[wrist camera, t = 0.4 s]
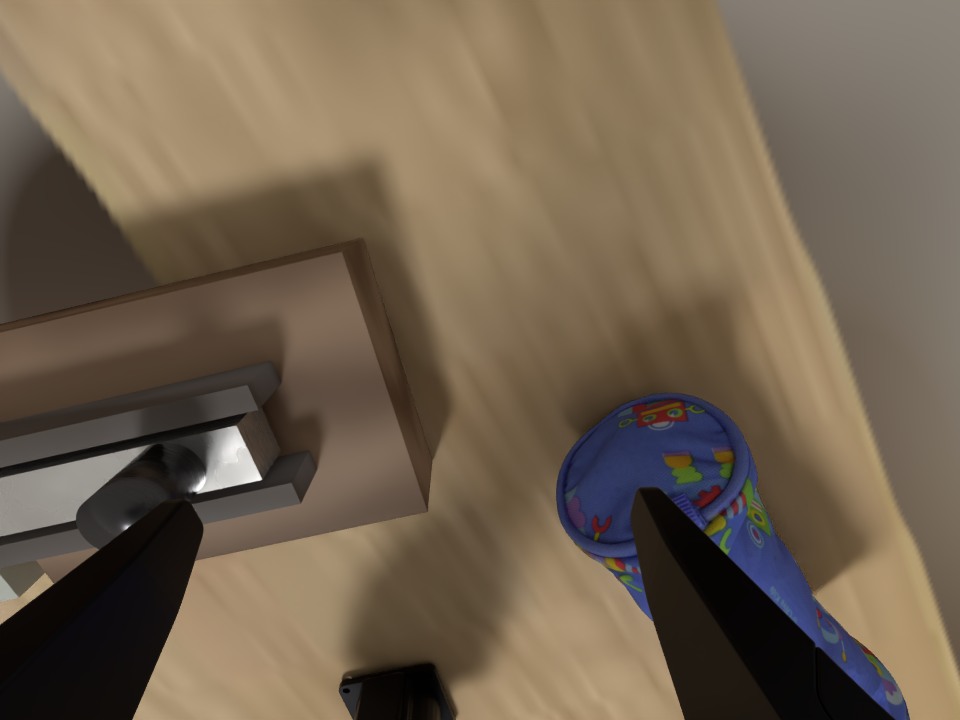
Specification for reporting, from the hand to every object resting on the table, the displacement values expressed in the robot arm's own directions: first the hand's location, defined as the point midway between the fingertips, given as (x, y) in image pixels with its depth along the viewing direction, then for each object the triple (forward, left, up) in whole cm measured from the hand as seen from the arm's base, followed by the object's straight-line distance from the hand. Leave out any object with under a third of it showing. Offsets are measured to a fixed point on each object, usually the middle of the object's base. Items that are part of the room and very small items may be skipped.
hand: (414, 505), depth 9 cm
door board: (-2, +11, -14) cm, 18 cm away
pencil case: (-17, -11, -14) cm, 24 cm away
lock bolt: (-2, +13, -9) cm, 16 cm away
